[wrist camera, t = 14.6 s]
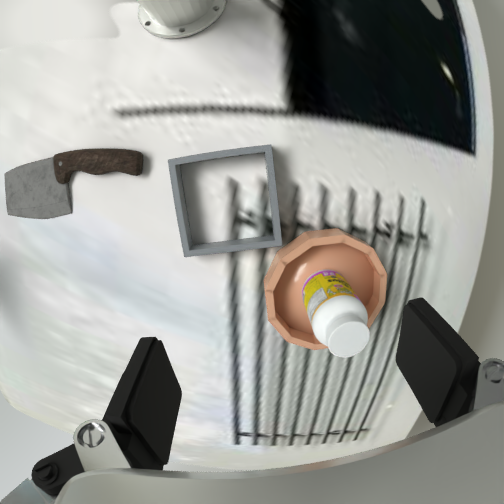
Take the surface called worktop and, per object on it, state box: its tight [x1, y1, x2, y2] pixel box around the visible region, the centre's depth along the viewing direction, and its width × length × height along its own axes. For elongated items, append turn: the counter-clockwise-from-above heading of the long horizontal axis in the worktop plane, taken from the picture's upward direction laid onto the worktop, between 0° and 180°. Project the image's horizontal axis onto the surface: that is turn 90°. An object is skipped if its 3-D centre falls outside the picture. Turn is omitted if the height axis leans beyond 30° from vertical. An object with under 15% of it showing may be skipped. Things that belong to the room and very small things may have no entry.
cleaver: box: [5, 149, 143, 219], centre depth 36 cm, size 29×10×2 cm, turn 93°
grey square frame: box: [168, 145, 282, 257], centre depth 36 cm, size 13×13×2 cm
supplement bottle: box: [302, 269, 370, 358], centre depth 34 cm, size 7×7×13 cm
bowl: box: [264, 228, 387, 350], centre depth 40 cm, size 17×17×4 cm
